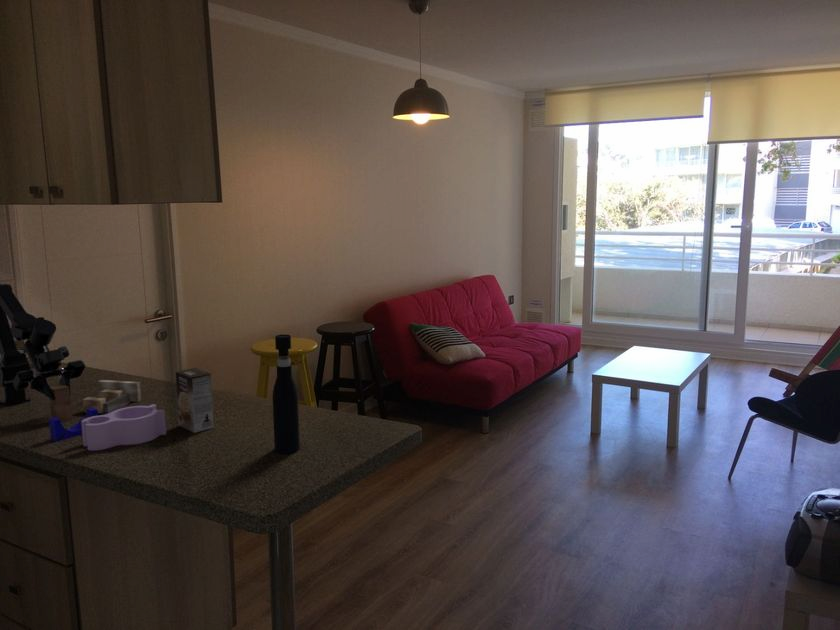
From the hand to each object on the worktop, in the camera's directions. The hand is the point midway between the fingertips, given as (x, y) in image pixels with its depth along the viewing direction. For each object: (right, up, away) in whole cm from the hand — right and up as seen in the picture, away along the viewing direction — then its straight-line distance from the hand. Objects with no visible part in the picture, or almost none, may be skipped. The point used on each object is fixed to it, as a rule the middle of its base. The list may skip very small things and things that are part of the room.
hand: (61, 397), depth 197 cm
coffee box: (+40, -8, -4) cm, 41 cm away
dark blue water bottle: (+69, -11, -21) cm, 73 cm away
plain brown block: (-1, -7, +2) cm, 7 cm away
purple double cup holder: (+24, -10, -13) cm, 29 cm away
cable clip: (+8, -9, -9) cm, 15 cm away
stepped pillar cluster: (+6, -4, +16) cm, 17 cm away
